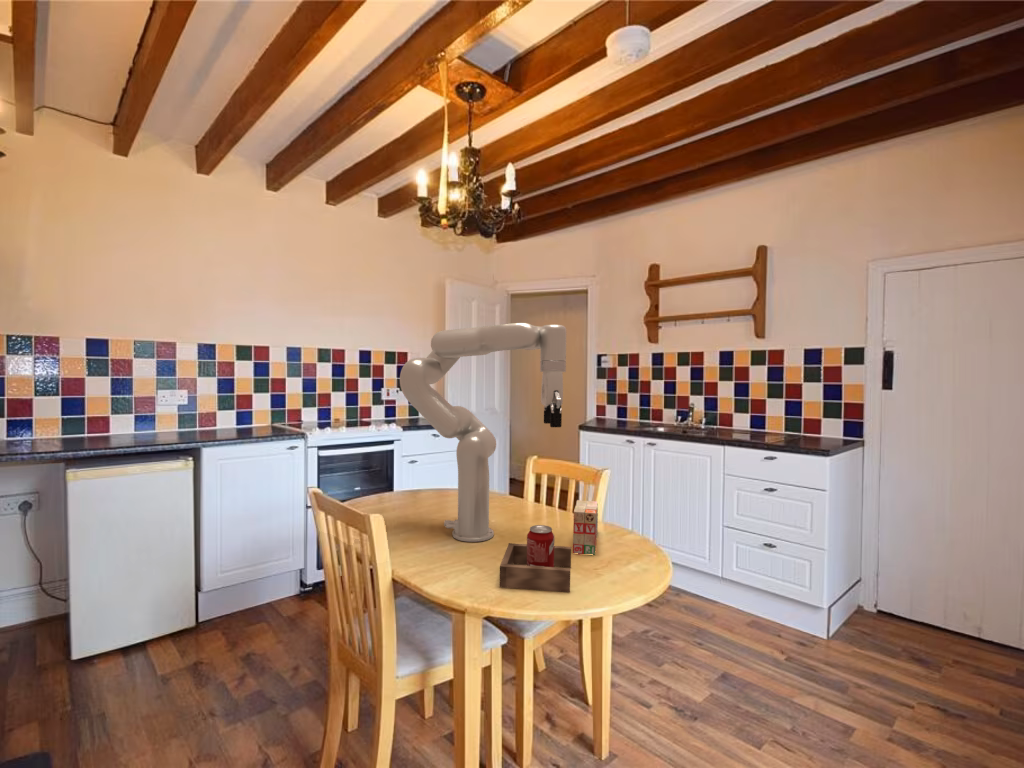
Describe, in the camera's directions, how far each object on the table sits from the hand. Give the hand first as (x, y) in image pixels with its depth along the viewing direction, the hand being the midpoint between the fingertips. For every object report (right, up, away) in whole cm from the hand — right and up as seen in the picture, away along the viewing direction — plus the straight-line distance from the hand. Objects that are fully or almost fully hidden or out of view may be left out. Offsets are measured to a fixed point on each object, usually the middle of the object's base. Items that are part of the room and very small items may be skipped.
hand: (552, 425), depth 151 cm
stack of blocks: (+10, -35, +2) cm, 37 cm away
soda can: (-5, -36, -23) cm, 43 cm away
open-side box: (-6, -36, -23) cm, 43 cm away
